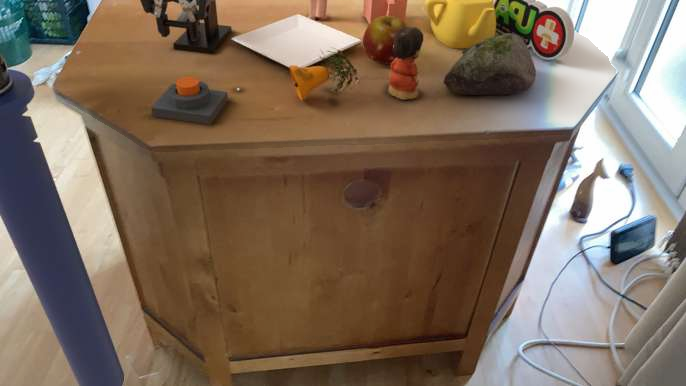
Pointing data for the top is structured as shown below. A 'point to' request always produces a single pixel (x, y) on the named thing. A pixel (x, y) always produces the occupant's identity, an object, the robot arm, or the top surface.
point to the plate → (296, 41)
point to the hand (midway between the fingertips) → (180, 37)
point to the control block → (190, 105)
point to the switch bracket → (205, 35)
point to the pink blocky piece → (384, 9)
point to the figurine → (405, 63)
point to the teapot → (462, 21)
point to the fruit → (382, 38)
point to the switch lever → (180, 20)
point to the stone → (493, 67)
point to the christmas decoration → (321, 75)
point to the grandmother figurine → (317, 9)
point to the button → (188, 86)
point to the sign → (536, 26)
